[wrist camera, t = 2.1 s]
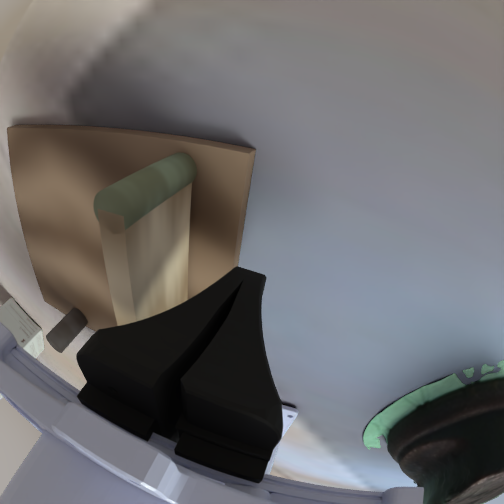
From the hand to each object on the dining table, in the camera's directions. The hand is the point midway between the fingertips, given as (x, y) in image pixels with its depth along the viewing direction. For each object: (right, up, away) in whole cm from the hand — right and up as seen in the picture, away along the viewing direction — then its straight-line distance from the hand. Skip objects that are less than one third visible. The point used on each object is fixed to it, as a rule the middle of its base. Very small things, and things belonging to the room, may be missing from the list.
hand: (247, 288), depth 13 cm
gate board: (-10, +2, +7) cm, 13 cm away
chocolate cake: (+20, -15, +7) cm, 26 cm away
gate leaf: (-4, 0, +4) cm, 6 cm away
